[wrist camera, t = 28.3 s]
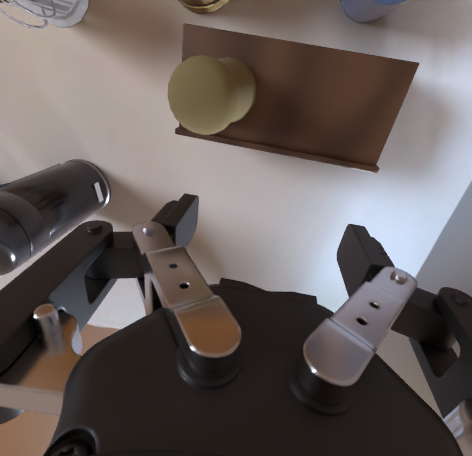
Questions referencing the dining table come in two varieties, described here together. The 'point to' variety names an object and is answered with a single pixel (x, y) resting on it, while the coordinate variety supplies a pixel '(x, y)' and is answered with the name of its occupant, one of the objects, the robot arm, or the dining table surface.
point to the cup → (368, 9)
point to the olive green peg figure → (211, 93)
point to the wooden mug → (203, 5)
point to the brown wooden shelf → (308, 97)
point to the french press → (51, 11)
